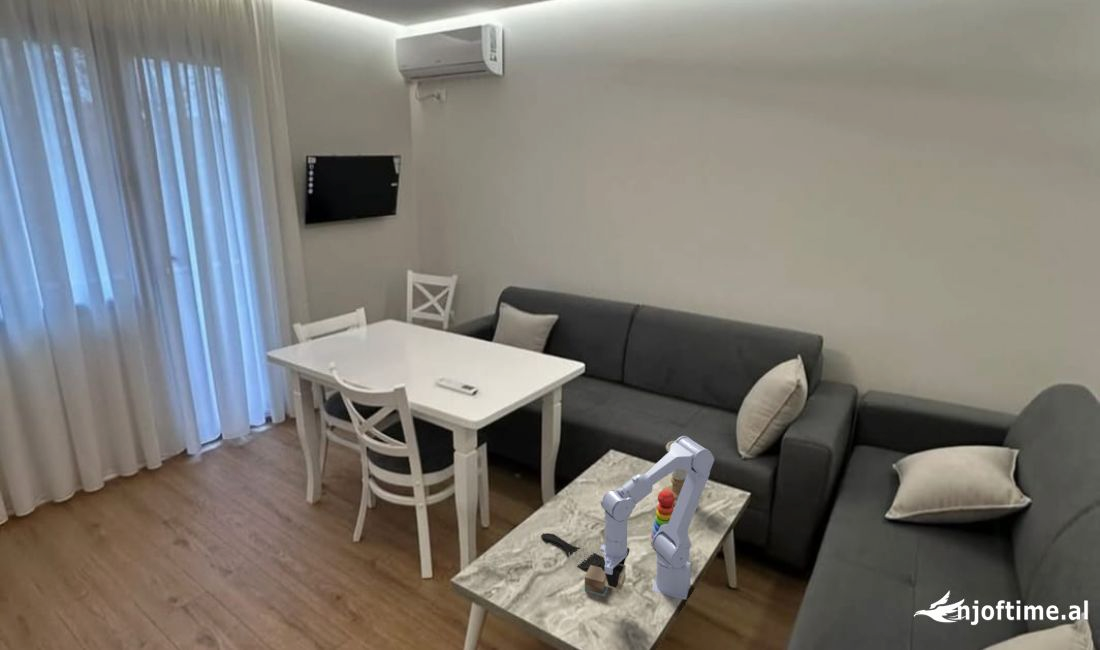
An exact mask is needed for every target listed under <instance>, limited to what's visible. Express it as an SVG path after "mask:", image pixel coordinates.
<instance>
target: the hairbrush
mask: <svg viewBox="0 0 1100 650" xmlns="http://www.w3.org/2000/svg"><path fill="white" fill-rule="evenodd" d="M540 537H541V540H542V539H544V540H543V541H545V542H550V543H553V544H556V545H558V546H559V547H562V548H563V550H564V552H565V556H566V557H567V558H570V556H572V559H575V557H579V558H577V560H578V563H579V564H577V566H576V567H577V568H579V570H580V569H581V570H583V571H586V572H587V571H588V569H589V567H590V565H593V566H597V567H601V563H602V561H603V560H605V556H604V555H603V554H598V551H596V552H595V553H594V552H592V554H589V555H588V553H585V556H588V557H585V559H583V560H582V557H583V554H582V552H585V549H586V547H584V549H582V552H580V553H579V555H577V552H579V550H580V549H581V547H582V545H580V544H578V547H577V546H576V545H575V546H574V545H573V544H572V543H569V542H567V541H565V540H563V539H562V538H561V537H559V536H558V535H556V534H554V533H550V532H548V533H547V532H546V533H541V534H540ZM579 545H580V546H579ZM574 553H575V554H574ZM573 554H574V555H575V556H574V555H573ZM581 560H582V561H581Z"/></svg>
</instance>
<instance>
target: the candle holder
mask: <svg viewBox="0 0 1100 650" xmlns="http://www.w3.org/2000/svg"><path fill="white" fill-rule="evenodd" d="M675 441H676V440H671V441H669V442H667V443H666V445H665V449H666V452H667V453H668V452H669V451H670V446H671V444H672V443H674V442H675ZM687 474H688V472H687V471H686V470H680V469H676V470H675V471H673V472H672V473H671V478H670V482H671V484H672V485H669V486H668V485H667V486H666V487H664V488H663V489H662V490H669V491H671V492H672V493H673V495H674V503H673V504H672V505H673V507H675V505H676V502H677V500H678V497H679V494H680V492H681V489H682V487H683V484H684V481H685V479H686V476H687Z"/></svg>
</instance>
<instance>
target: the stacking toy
mask: <svg viewBox="0 0 1100 650" xmlns="http://www.w3.org/2000/svg"><path fill="white" fill-rule="evenodd" d="M657 501H658V504H657V509H656V511H655V517H654V522H653V527H652V531H651V534H650V535H651V537H650V544H651V545H652V540H653V537H654V536H655V534H656V533H657V532H658V531H659V528H660V526H661V525H665V524H668V523H669V520H670V518H671V515H672V513H673V510H674V507H675V506H673V505H672V504H673V503H674V495H673V493H672V492H671V491H669V490H663V489H662V490H661V491H659V493H658V494H657Z"/></svg>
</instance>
